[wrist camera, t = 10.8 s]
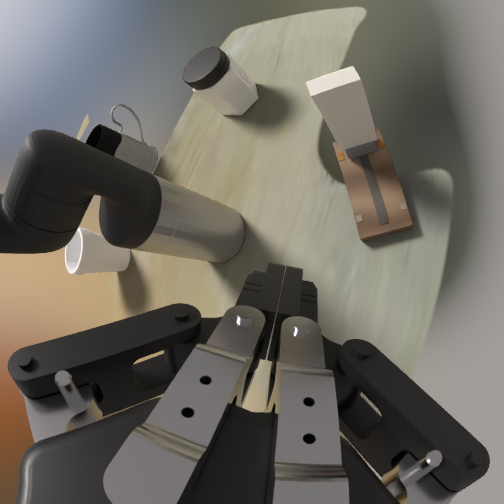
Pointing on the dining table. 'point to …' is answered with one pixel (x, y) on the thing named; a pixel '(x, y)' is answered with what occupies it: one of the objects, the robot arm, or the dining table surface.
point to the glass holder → (124, 145)
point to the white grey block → (345, 110)
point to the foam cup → (94, 254)
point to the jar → (220, 82)
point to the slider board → (374, 192)
